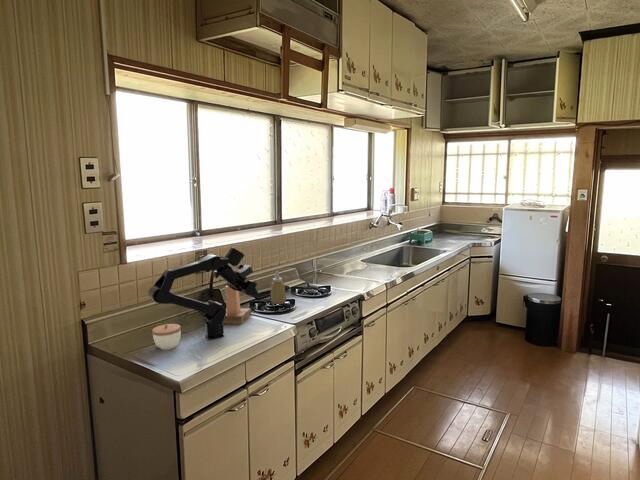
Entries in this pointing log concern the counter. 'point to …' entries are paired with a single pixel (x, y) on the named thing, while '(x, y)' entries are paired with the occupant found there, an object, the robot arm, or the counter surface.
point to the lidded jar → (167, 335)
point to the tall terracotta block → (232, 301)
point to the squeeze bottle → (278, 290)
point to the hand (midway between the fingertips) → (254, 294)
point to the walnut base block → (237, 316)
